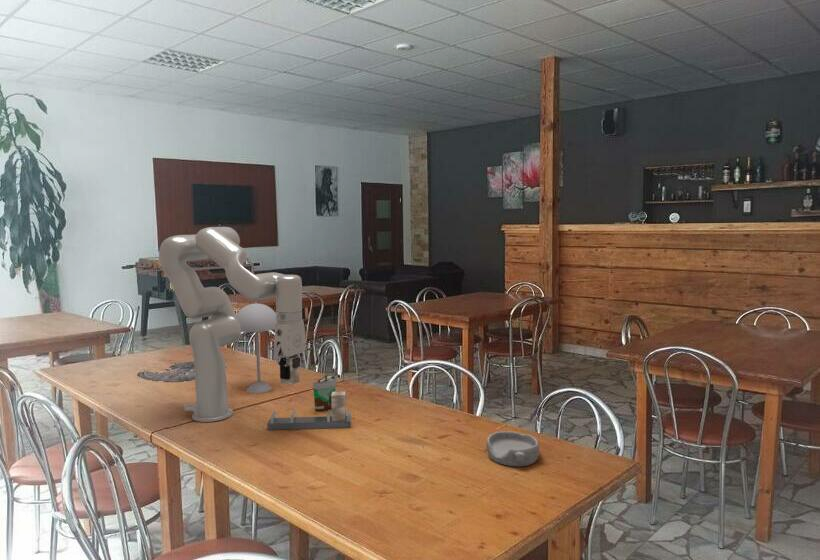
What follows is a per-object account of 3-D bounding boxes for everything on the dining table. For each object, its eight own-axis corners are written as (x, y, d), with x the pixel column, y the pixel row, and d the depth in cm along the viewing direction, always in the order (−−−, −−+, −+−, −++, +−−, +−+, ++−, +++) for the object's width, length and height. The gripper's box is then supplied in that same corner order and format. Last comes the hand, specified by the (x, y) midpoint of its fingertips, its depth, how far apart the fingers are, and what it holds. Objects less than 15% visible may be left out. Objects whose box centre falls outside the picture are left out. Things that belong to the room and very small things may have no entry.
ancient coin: (164, 361, 271) (164, 360, 271) (237, 362, 267) (237, 362, 267) (119, 381, 239) (119, 380, 239) (201, 383, 234) (201, 382, 234)
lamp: (243, 383, 232) (240, 299, 229) (287, 383, 232) (284, 298, 228) (229, 396, 215) (224, 305, 212) (276, 396, 215) (272, 305, 211)
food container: (331, 413, 195) (330, 383, 194) (313, 412, 196) (312, 382, 195) (342, 401, 207) (342, 373, 206) (326, 401, 208) (325, 373, 207)
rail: (267, 430, 181) (266, 417, 180) (270, 424, 186) (270, 411, 185) (350, 427, 182) (349, 414, 181) (351, 421, 187) (350, 409, 186)
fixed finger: (329, 421, 182) (328, 395, 181) (330, 416, 186) (329, 391, 185) (345, 420, 182) (344, 395, 181) (346, 416, 186) (345, 391, 185)
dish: (528, 472, 148) (528, 453, 148) (477, 461, 156) (477, 443, 155) (547, 453, 160) (547, 435, 160) (499, 443, 168) (499, 426, 167)
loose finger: (293, 385, 176) (293, 358, 175) (280, 383, 178) (280, 357, 177) (301, 382, 179) (301, 356, 178) (288, 379, 182) (288, 354, 181)
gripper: (281, 322, 167) (282, 386, 170) (315, 313, 182) (316, 371, 185) (260, 320, 171) (261, 382, 173) (295, 311, 186) (296, 368, 188)
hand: (289, 376), depth 179 cm, fingers closed on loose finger, 4 cm apart
